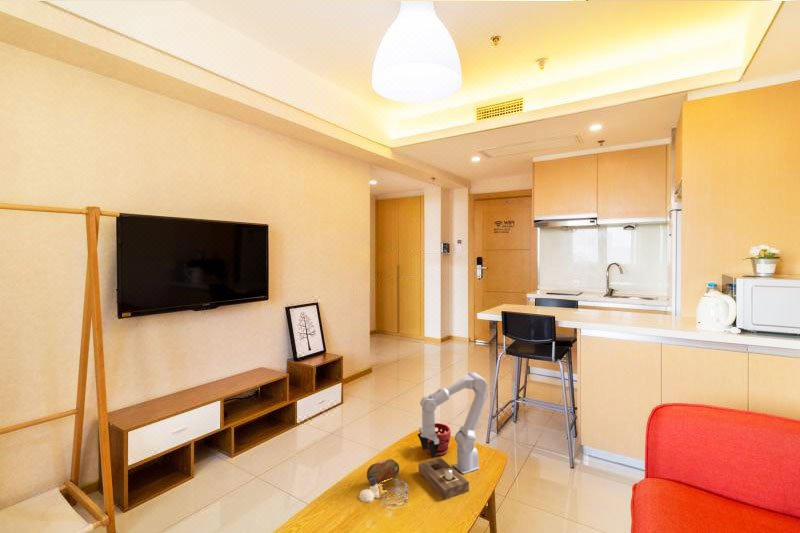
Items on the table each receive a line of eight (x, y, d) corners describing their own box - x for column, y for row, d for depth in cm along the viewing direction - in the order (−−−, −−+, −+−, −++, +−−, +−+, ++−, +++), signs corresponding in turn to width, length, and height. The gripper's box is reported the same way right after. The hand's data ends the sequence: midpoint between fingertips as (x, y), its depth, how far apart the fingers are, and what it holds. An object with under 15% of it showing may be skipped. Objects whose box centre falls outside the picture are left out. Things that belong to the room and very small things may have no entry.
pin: (449, 483, 161) (449, 467, 161) (454, 487, 158) (453, 471, 158) (443, 485, 160) (443, 469, 160) (447, 489, 157) (447, 473, 157)
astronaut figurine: (390, 496, 155) (390, 489, 155) (363, 505, 149) (363, 498, 149) (381, 485, 162) (381, 478, 162) (355, 493, 157) (355, 486, 157)
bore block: (440, 465, 176) (440, 456, 176) (468, 491, 156) (468, 481, 156) (418, 472, 171) (418, 463, 171) (444, 499, 151) (444, 489, 151)
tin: (368, 487, 160) (368, 468, 160) (365, 483, 163) (365, 464, 163) (399, 477, 167) (399, 459, 167) (396, 474, 170) (396, 456, 170)
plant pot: (432, 460, 181) (431, 435, 181) (420, 447, 193) (420, 424, 193) (455, 454, 186) (455, 430, 186) (443, 442, 198) (442, 420, 198)
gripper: (413, 419, 174) (413, 448, 175) (429, 432, 161) (429, 463, 161) (426, 416, 177) (426, 444, 178) (442, 428, 164) (443, 458, 165)
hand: (429, 453), depth 170 cm, fingers open, 7 cm apart
